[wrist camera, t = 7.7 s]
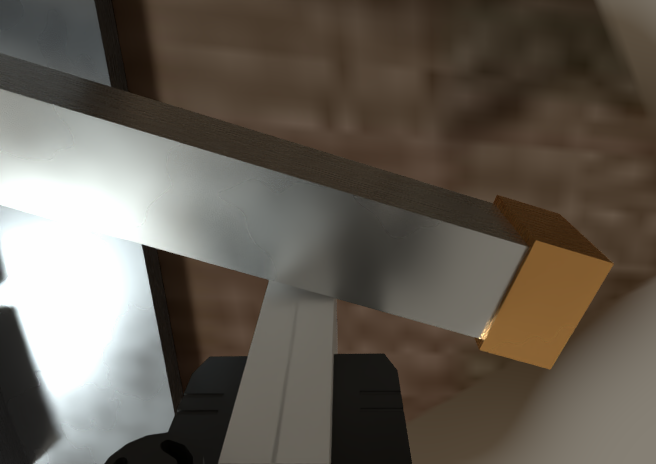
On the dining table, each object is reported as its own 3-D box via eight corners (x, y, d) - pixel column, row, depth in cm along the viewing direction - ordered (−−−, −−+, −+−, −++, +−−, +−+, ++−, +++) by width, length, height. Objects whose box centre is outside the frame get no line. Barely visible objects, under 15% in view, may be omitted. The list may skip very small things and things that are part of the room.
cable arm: (-510, 25, 11) (-815, 28, 8) (-575, -165, 10) (-967, -243, 7) (500, 313, 13) (545, 397, 10) (564, 190, 12) (636, 247, 9)
